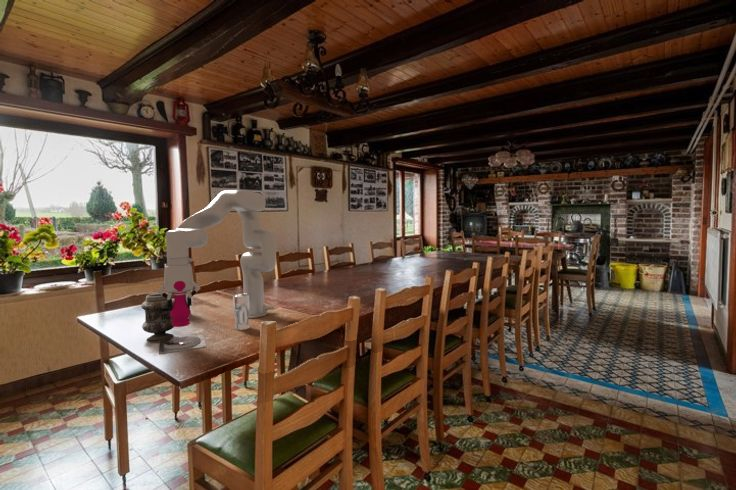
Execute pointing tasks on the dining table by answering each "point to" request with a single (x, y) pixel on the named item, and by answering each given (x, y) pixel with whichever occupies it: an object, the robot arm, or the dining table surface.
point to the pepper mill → (180, 306)
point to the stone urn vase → (157, 317)
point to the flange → (182, 344)
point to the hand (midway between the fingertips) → (180, 308)
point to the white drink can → (241, 310)
